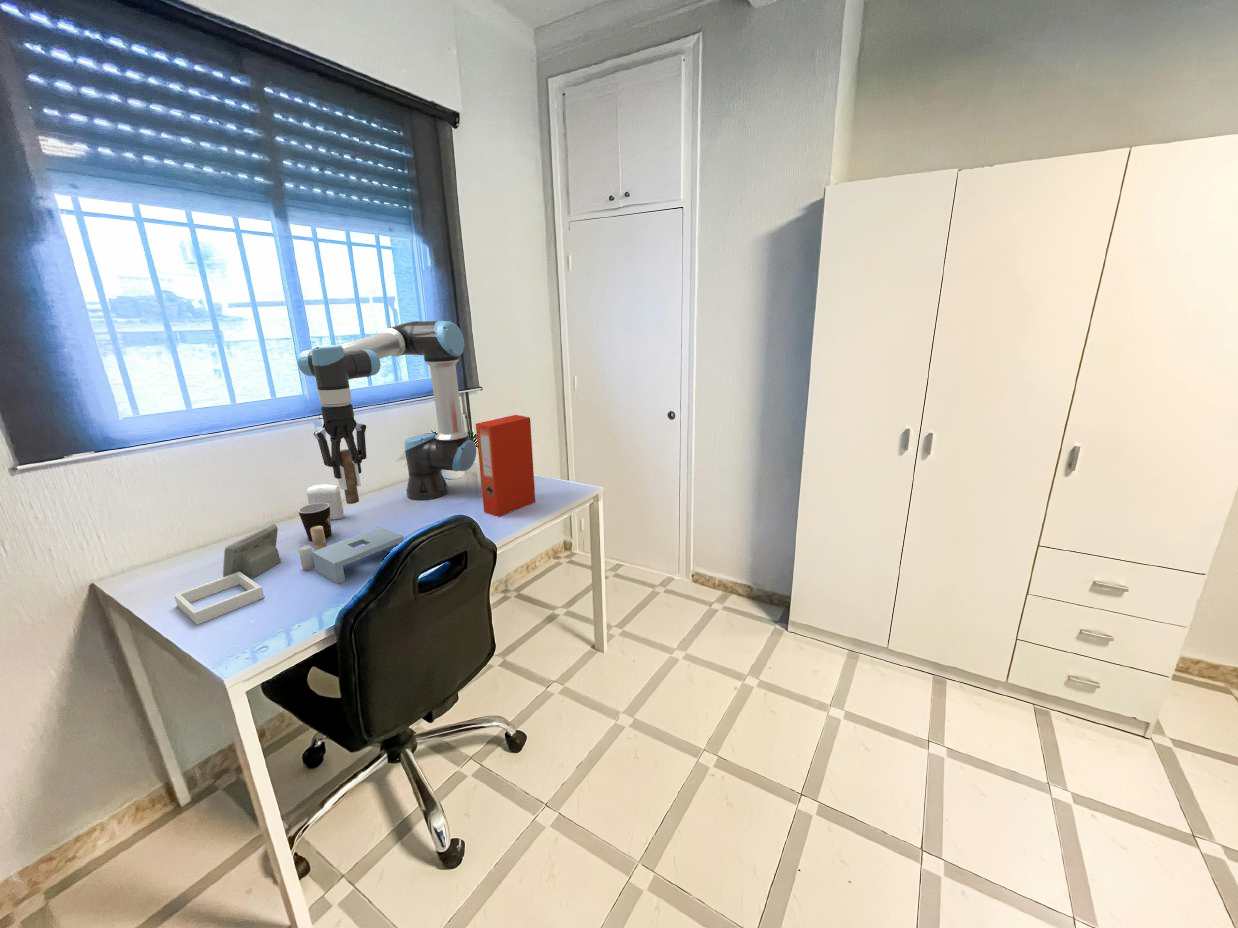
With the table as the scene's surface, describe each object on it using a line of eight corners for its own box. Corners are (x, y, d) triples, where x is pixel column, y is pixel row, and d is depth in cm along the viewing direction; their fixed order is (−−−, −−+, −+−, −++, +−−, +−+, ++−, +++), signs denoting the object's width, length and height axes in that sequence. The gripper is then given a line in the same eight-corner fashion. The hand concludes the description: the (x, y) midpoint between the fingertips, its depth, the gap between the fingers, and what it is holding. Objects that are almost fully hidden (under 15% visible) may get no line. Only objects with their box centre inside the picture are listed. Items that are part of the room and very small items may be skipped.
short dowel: (312, 563, 147) (308, 544, 146) (317, 566, 146) (313, 547, 144) (300, 568, 145) (296, 548, 143) (305, 571, 143) (301, 551, 141)
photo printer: (346, 515, 182) (340, 481, 178) (341, 519, 178) (335, 486, 174) (315, 517, 180) (308, 483, 177) (310, 521, 176) (302, 487, 173)
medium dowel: (325, 552, 154) (319, 524, 151) (330, 555, 152) (324, 527, 149) (314, 556, 151) (308, 528, 149) (319, 559, 150) (313, 531, 147)
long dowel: (355, 499, 149) (347, 448, 144) (361, 501, 147) (352, 450, 143) (344, 502, 146) (335, 451, 142) (350, 504, 144) (341, 452, 140)
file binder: (536, 502, 190) (530, 417, 180) (498, 517, 177) (490, 426, 168) (521, 497, 195) (514, 414, 185) (484, 512, 182) (474, 423, 172)
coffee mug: (321, 543, 160) (315, 513, 157) (298, 541, 161) (291, 512, 158) (347, 528, 170) (342, 500, 168) (325, 526, 172) (319, 498, 169)
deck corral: (242, 581, 138) (239, 571, 137) (264, 597, 130) (261, 586, 130) (177, 605, 128) (173, 594, 127) (197, 624, 120) (193, 613, 119)
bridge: (383, 544, 158) (380, 526, 157) (406, 554, 152) (403, 536, 150) (316, 571, 143) (311, 551, 141) (337, 583, 136) (333, 563, 134)
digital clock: (273, 553, 154) (265, 520, 151) (294, 558, 151) (286, 525, 147) (215, 579, 140) (205, 544, 137) (237, 585, 136) (227, 549, 133)
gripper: (359, 399, 147) (371, 477, 153) (297, 407, 134) (313, 492, 141) (372, 401, 143) (384, 481, 149) (310, 410, 130) (326, 497, 137)
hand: (350, 486), depth 145 cm, fingers closed on long dowel, 3 cm apart
